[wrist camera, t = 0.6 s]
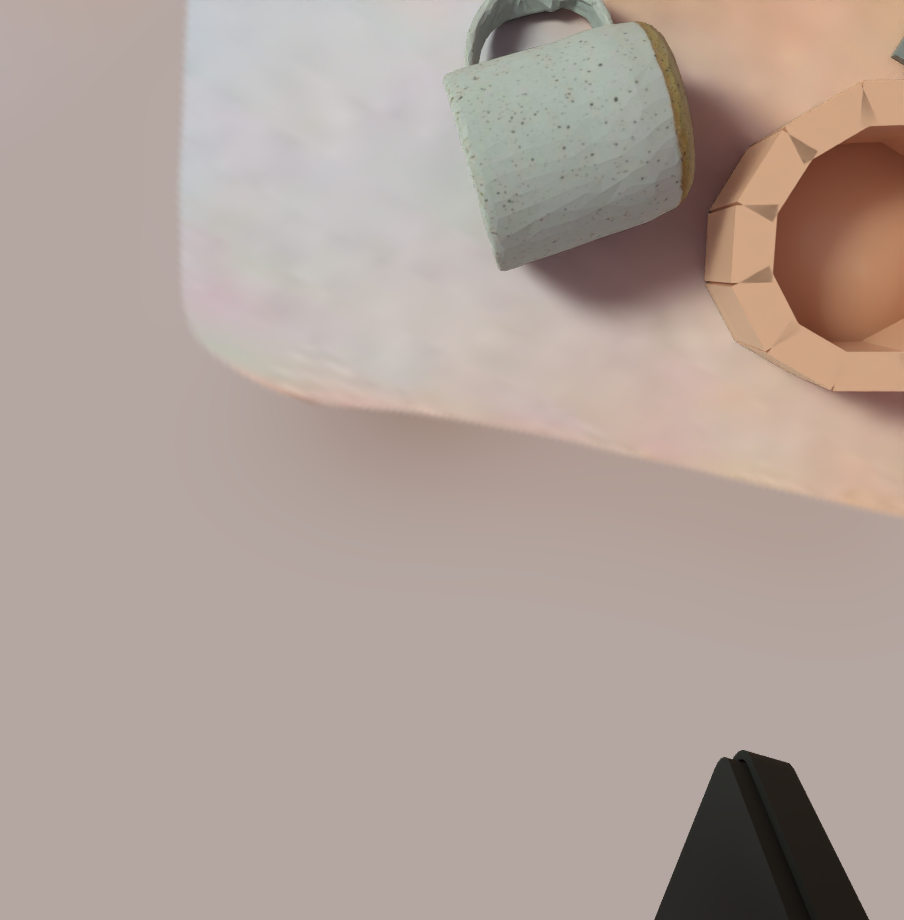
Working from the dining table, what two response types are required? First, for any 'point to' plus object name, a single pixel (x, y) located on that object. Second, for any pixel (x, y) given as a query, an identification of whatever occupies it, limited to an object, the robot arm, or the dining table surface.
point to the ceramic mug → (571, 131)
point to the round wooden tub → (819, 243)
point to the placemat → (899, 52)
